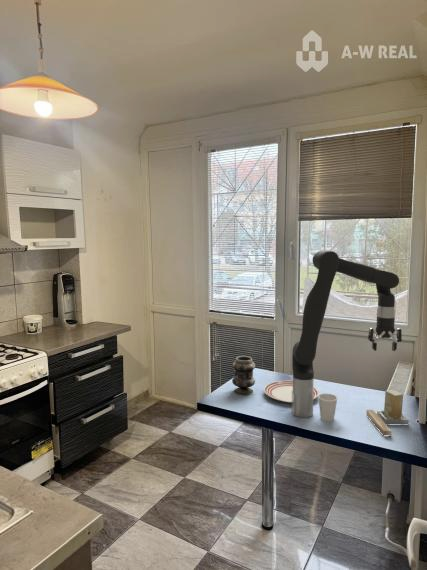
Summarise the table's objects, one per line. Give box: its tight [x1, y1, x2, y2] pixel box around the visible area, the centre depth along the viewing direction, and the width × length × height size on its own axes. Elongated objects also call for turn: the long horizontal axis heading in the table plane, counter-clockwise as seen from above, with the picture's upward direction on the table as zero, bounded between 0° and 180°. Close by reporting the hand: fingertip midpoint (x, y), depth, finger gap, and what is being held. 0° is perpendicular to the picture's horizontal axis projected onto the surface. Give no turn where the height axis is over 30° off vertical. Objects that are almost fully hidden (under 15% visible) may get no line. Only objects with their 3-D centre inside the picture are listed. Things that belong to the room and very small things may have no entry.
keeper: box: [376, 409, 410, 425], centre depth 172 cm, size 10×10×2 cm
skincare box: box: [383, 389, 404, 419], centre depth 171 cm, size 6×4×12 cm
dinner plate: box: [263, 380, 320, 404], centre depth 200 cm, size 28×27×3 cm
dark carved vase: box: [231, 355, 256, 396], centre depth 205 cm, size 12×12×18 cm
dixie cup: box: [317, 392, 339, 422], centre depth 174 cm, size 8×8×10 cm
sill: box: [366, 409, 392, 436], centre depth 167 cm, size 3×20×2 cm, turn 178°
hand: (384, 350), depth 181 cm, fingers open, 8 cm apart
